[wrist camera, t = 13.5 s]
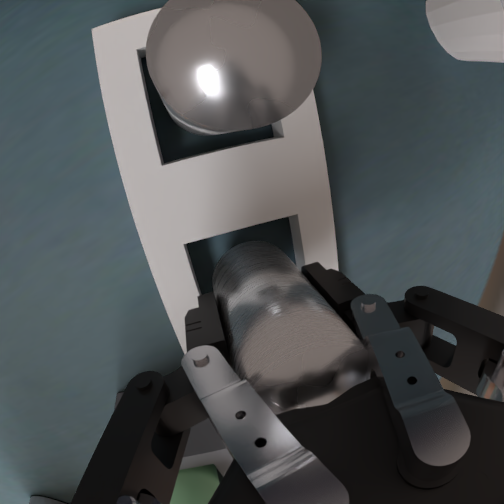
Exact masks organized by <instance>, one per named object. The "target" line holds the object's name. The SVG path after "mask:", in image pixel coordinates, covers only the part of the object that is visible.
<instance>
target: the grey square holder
mask: <svg viewBox="0 0 504 504" xmlns="http://www.w3.org/2000/svg"><path fill="white" fill-rule="evenodd" d="M123 393H124V392H122V393H117V396H116V403H115V409H116V407H117V405H118V403H119V401H120V399H121V397H122V395H123ZM114 411H115V410H114ZM232 461H233V459H232V457H231V455H230V454H229V452H228V450H227V449H226V447H225V445H224V444H223V442H222V440H221V439H220V437H219V435H218V434H217V432H216V430H215V429H214V427H213V425H212V423H211V422H210V420H209V418H208V419H206V420H204V421H202V422H200V423H198V424H196V425H195V426H193V427H191V430H190V434H189V438H188V441H187V445H186V448H185V452H184V455H183V459H182V462H181V466H180V469H179V470H182V469H188V468H194V467H199V466H205V465H210V464H214V465H215V466H216V469H217V474H218V479H219V484H220V482H221V480H222V479H223V477H224V475H225V473H226V472H227V470H228V468H229V466H230V464H231V463H232Z"/></svg>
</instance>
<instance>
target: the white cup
mask: <svg viewBox="0 0 504 504" xmlns="http://www.w3.org/2000/svg"><path fill="white" fill-rule="evenodd" d="M426 16H427V19H428V22H429V25H430V28H431V30H432V32H433V33H434V35H435V37H436V39H437V41H438V42H439V43H440V44H441V46H442V47H443V48H444V49H445V50H446V52H447V53H448V54H450V55H451V56H453V57H454V58H456V59H457V60H463V61H484V62H501V63H504V0H427V1H426Z"/></svg>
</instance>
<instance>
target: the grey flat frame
mask: <svg viewBox="0 0 504 504" xmlns="http://www.w3.org/2000/svg"><path fill="white" fill-rule="evenodd" d="M161 9H162V8H159V9H155V10H151V11H147V12H143V13H140V14H136V15H133V16H129V17H126V18H123V19H120V20H116V21H113V22H110V23H107V24H105V25H102V26H99V27H96V28H93V29H92V36H93V43H94V50H95V57H96V63H97V69H98V75H99V81H100V86H101V91H102V97H103V102H104V106H105V111H106V116H107V121H108V125H109V129H110V134H111V138H112V142H113V146H114V150H115V154H116V158H117V162H118V166H119V170H120V173H121V177H122V181H123V184H124V188H125V191H126V195H127V198H128V202H129V205H130V208H131V211H132V215H133V218H134V221H135V224H136V227H137V231H138V234H139V237H140V240H141V243H142V246H143V249H144V252H145V255H146V257H147V260H148V263H149V266H150V269H151V272H152V274H153V277H154V280H155V282H156V285H157V288H158V290H159V293H160V296H161V298H162V301H163V303H164V306H165V309H166V311H167V314H168V316H169V319H170V321H171V323H172V326H173V328H174V331H175V333H176V336H177V338H178V340H179V343H180V345H181V347H182V350H183V352H184V354H186V353H187V348H186V334H185V333H186V332H185V316H186V314H187V312H188V310H190V309H194V308H198V307H199V305H198V298H197V296H199V295H202V294H201V291H200V288H199V284H198V281H197V278H196V275H195V272H194V268H193V265H192V262H191V259H190V255H189V252H188V249H187V245H186V244H187V243H190V242H194V241H198V240H201V239H205V238H208V237H212V236H216V235H219V234H223V233H227V232H231V231H234V230H238V229H242V228H246V227H249V226H253V225H257V224H261V223H265V222H268V221H272V220H276V219H280V218H284V217H288V216H289V222H290V228H291V234H292V240H293V247H294V253H295V259H296V266H297V268H298V269H299V270H300V271H301V267H302V266H304V265H308V264H311V263H314V262H319V263H320V264H321V265H322V266H323V267H324V268H325V269H326V270H328V269H334V270H337V271H339V269H338V257H337V246H336V236H335V227H334V218H333V209H332V201H331V193H330V186H329V179H328V172H327V165H326V158H325V152H324V146H323V140H322V134H321V128H320V123H319V117H318V112H317V107H316V101H315V96H314V92H313V90H312V92H311V93H310V95H309V96H308V97H307V99H306V100H305V101H304V102H303V104H301V105H300V106H299V107H298V108H297V109H296V110H295V111H294V112H292V113H291V114H289V115H288V116H287V117H285V118H283V119H281V120H279V121H277V122H275V123H272V124H271V125H272V130H273V135H274V137H273V138H268V139H263V140H258V141H253V142H248V143H243V144H239V145H234V146H230V147H225V148H221V149H217V150H213V151H209V152H204V153H200V154H197V155H193V156H189V157H185V158H181V159H178V160H174V161H170V162H167V163H164V161H163V157H162V153H161V149H160V145H159V141H158V136H157V132H156V128H155V124H154V119H153V115H152V110H151V106H150V101H149V96H148V92H147V87H146V82H145V77H144V72H143V67H142V62H141V58H144V57H146V42H147V37H148V33H149V30H150V27H151V25H152V23H153V21H154V19H155V17H156V15H157V14H158V13H159V11H160V10H161Z"/></svg>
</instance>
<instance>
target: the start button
mask: <svg viewBox="0 0 504 504" xmlns="http://www.w3.org/2000/svg"><path fill="white" fill-rule="evenodd" d="M218 485H219V479H218V474H217V469H216V466H215V465H214V464H210V465H205V466H199V467H194V468H188V469H182V470H179V473H178V476H177V480H176V483H175V487H174V490H173V494H172V497H171V501H170V504H208V502H209V501H210V499H211V497H212V496H213V494H214V492H215V491H216V489H217V487H218Z"/></svg>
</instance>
